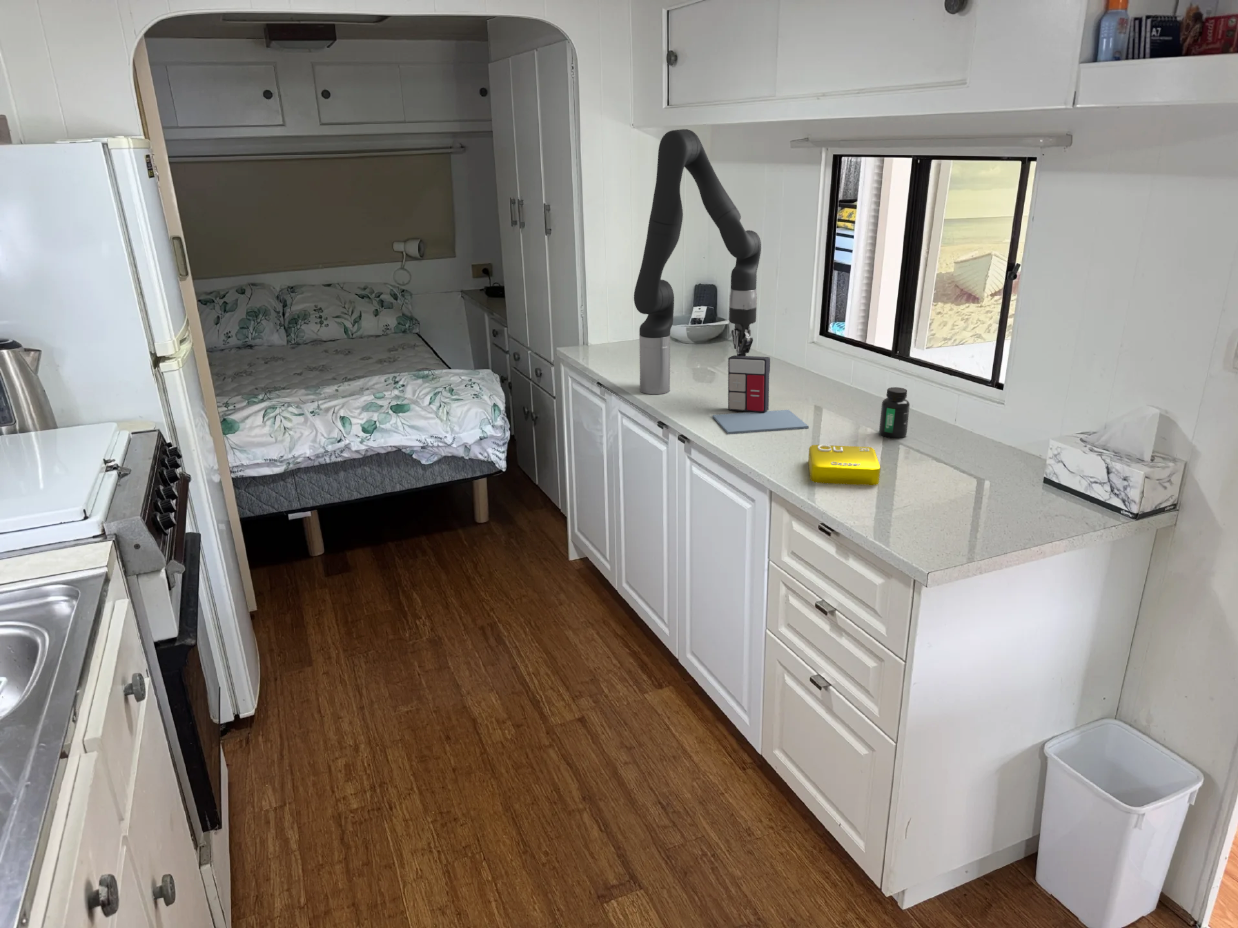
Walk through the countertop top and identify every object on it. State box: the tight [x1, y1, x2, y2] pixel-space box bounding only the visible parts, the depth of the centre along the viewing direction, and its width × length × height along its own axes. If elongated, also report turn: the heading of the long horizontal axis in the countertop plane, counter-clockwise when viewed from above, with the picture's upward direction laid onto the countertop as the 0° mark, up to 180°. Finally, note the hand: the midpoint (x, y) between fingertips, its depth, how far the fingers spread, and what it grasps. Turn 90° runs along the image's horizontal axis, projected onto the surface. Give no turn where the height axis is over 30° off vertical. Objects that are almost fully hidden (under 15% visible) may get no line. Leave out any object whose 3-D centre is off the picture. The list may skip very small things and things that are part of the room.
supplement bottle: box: [878, 386, 911, 440], centre depth 218 cm, size 7×7×12 cm
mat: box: [711, 409, 810, 435], centre depth 231 cm, size 15×22×1 cm
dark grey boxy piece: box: [727, 354, 771, 413], centre depth 239 cm, size 11×4×15 cm, turn 62°
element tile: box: [807, 444, 881, 486], centre depth 196 cm, size 15×15×5 cm
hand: (741, 366), depth 244 cm, fingers closed
